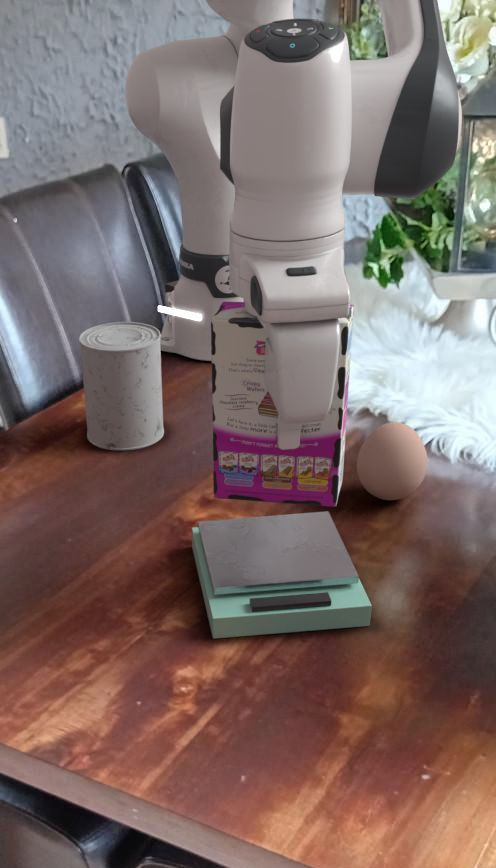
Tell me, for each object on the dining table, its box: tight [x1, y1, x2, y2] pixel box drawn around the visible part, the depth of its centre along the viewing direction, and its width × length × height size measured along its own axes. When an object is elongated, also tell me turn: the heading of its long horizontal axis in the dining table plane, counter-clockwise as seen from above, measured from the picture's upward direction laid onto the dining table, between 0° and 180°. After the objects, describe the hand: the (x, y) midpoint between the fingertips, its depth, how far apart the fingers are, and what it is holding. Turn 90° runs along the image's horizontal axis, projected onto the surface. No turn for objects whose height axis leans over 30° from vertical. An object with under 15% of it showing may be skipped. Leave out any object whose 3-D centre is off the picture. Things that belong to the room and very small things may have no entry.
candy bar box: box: [211, 302, 354, 508], centre depth 86 cm, size 11×5×16 cm, turn 75°
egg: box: [356, 421, 428, 501], centre depth 105 cm, size 7×7×8 cm
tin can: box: [78, 321, 165, 452], centre depth 120 cm, size 10×10×12 cm
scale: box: [191, 526, 373, 640], centre depth 94 cm, size 16×14×3 cm
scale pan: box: [197, 510, 360, 595], centre depth 94 cm, size 12×13×1 cm
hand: (279, 428), depth 87 cm, fingers closed on candy bar box, 6 cm apart
